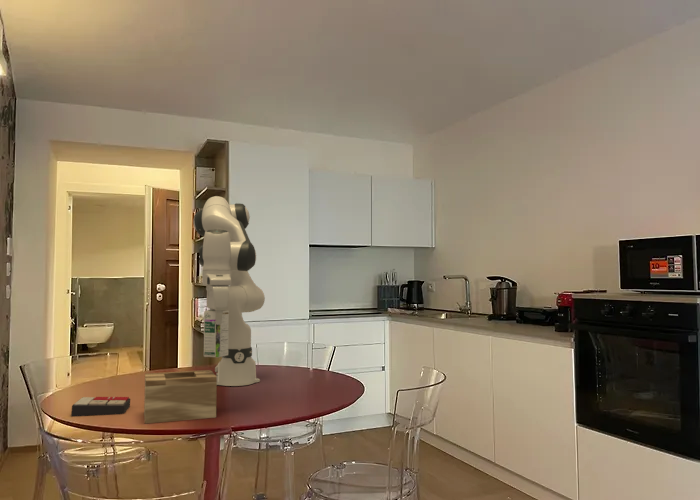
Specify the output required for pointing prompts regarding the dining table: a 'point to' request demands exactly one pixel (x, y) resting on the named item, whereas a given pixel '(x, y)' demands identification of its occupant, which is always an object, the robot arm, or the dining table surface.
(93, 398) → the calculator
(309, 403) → the dining table surface
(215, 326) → the syrup box
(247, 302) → the robot arm
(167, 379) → the posting box
